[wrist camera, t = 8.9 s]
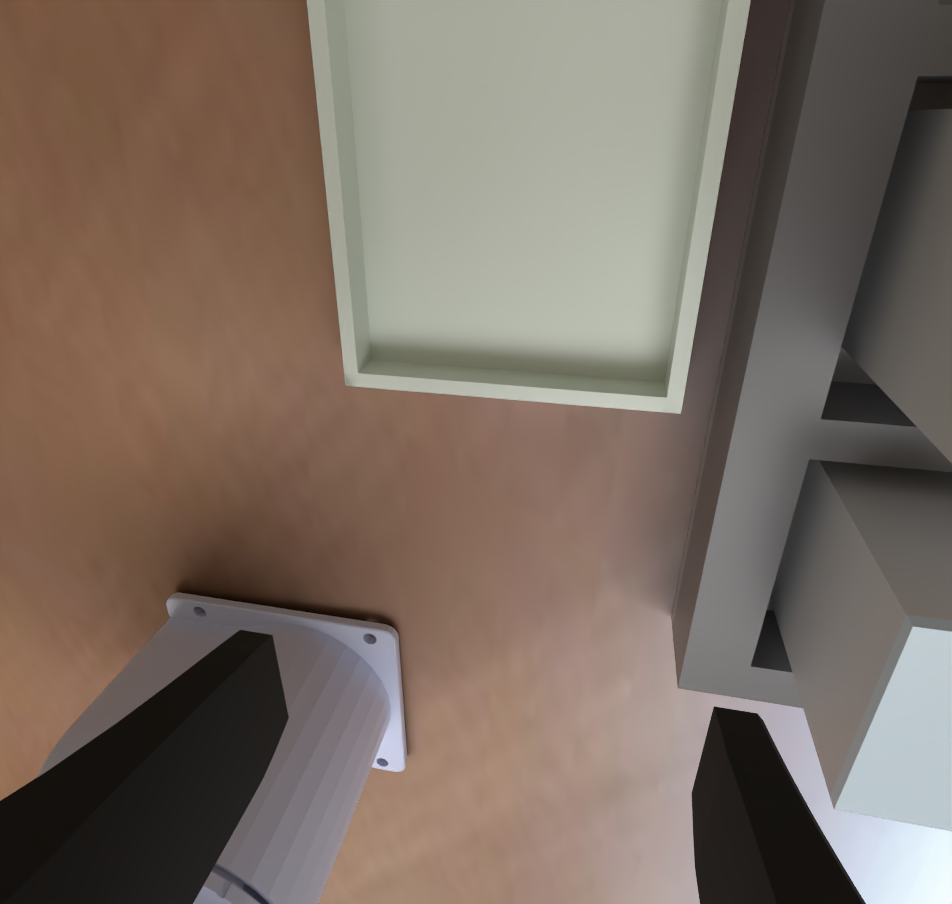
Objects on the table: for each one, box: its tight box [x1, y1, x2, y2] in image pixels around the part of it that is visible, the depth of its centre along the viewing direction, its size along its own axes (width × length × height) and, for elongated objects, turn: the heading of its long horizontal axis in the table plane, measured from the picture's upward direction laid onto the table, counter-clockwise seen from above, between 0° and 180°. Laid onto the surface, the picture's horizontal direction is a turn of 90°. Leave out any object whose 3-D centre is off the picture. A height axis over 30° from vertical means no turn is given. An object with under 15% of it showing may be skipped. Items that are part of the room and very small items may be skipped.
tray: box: [307, 0, 751, 414], centre depth 15 cm, size 9×12×2 cm
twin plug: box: [770, 459, 952, 831], centre depth 15 cm, size 4×5×7 cm
